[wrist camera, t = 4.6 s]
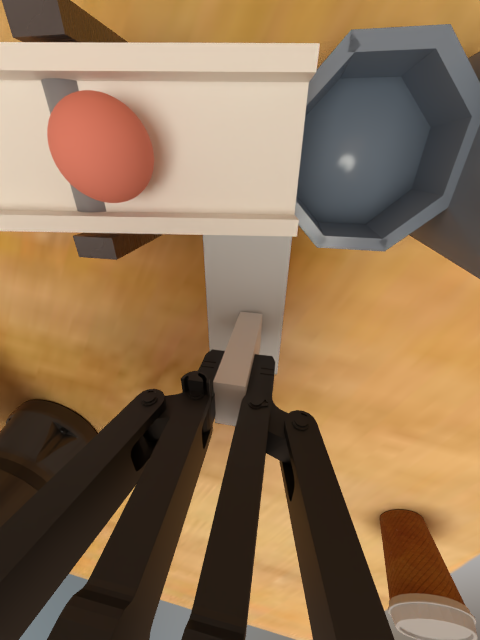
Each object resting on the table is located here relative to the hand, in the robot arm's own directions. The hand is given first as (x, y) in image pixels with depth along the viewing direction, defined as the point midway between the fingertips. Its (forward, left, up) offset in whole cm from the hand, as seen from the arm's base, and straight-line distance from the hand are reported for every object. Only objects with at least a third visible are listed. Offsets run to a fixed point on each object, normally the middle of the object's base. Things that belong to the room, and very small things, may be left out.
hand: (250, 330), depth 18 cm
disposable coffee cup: (+24, -39, -10) cm, 47 cm away
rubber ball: (-6, +10, +3) cm, 12 cm away
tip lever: (-9, +5, -1) cm, 10 cm away
